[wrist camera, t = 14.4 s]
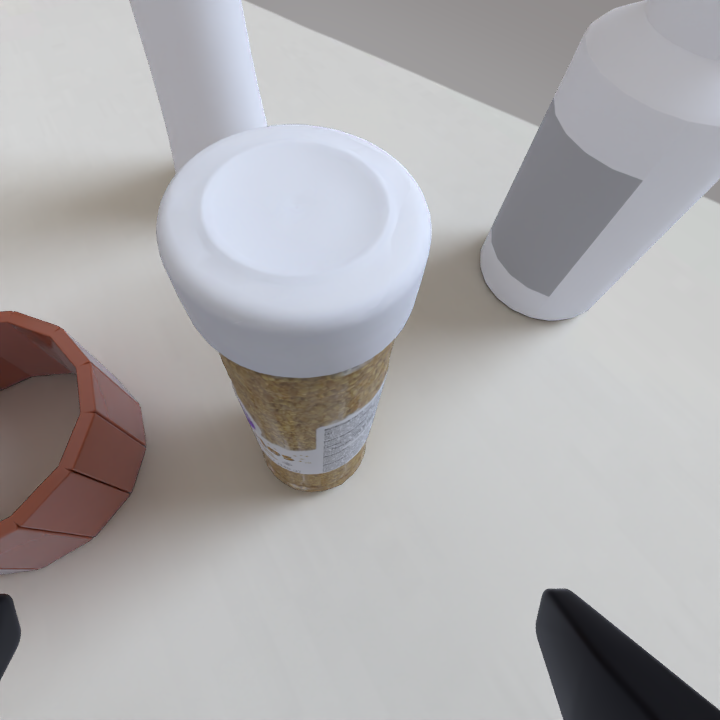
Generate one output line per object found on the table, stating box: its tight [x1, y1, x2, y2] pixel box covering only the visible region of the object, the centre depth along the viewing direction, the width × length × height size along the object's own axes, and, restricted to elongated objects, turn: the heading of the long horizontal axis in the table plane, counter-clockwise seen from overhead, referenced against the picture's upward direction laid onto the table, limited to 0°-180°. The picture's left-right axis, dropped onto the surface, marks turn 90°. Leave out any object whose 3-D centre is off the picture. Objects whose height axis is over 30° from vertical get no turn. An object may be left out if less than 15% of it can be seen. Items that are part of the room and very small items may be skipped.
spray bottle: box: [480, 0, 720, 321], centre depth 16 cm, size 7×7×18 cm
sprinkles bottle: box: [156, 124, 431, 492], centre depth 13 cm, size 5×5×14 cm
